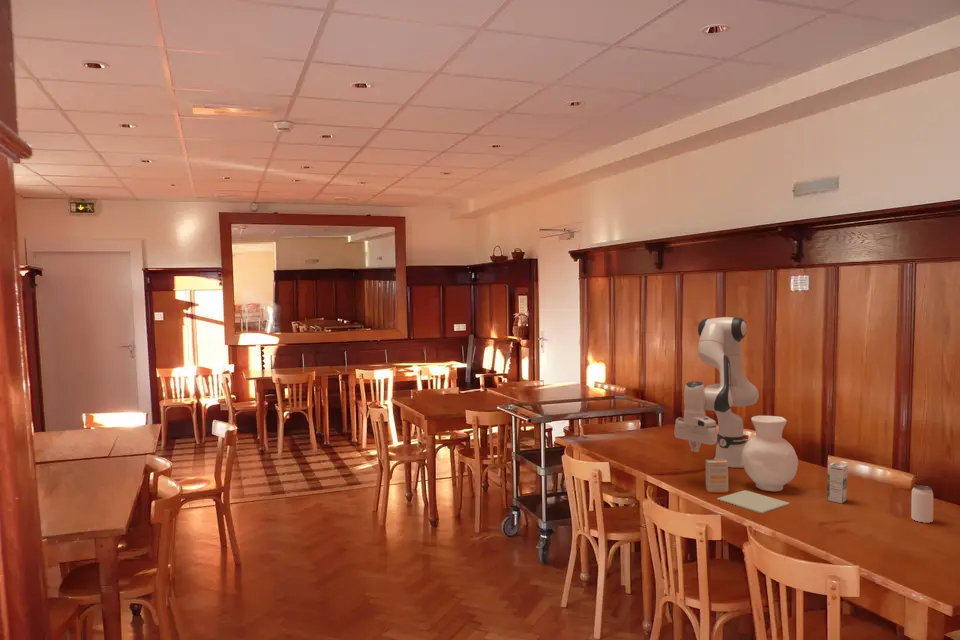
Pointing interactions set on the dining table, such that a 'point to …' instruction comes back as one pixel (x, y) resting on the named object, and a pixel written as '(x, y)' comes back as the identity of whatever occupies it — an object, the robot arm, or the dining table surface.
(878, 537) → the dining table surface
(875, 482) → the dining table surface
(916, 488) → the can
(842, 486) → the syrup box
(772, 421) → the vase
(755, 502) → the board
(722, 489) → the supplement box
